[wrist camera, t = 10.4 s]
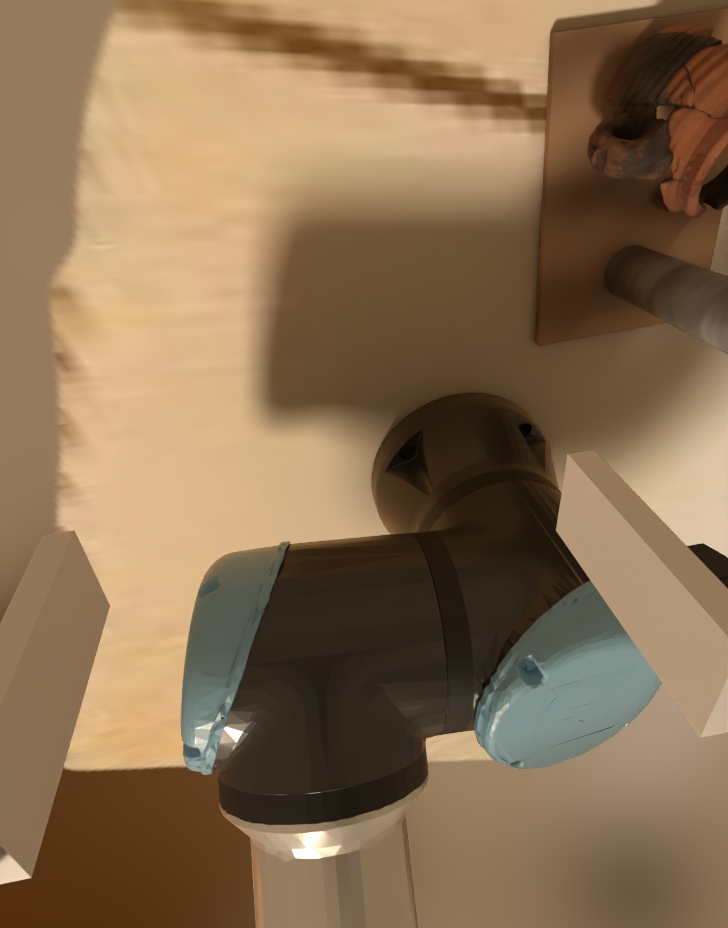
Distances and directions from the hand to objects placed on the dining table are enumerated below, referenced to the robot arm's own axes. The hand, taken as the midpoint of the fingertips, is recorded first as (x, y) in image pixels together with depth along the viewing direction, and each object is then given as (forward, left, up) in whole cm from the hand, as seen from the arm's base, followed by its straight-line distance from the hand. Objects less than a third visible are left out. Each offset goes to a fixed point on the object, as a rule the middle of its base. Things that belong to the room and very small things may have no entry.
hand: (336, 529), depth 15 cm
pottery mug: (+6, -24, -26) cm, 36 cm away
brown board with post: (+2, -24, -27) cm, 36 cm away
